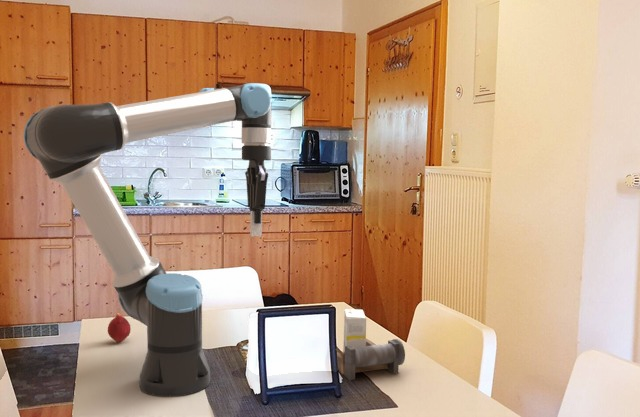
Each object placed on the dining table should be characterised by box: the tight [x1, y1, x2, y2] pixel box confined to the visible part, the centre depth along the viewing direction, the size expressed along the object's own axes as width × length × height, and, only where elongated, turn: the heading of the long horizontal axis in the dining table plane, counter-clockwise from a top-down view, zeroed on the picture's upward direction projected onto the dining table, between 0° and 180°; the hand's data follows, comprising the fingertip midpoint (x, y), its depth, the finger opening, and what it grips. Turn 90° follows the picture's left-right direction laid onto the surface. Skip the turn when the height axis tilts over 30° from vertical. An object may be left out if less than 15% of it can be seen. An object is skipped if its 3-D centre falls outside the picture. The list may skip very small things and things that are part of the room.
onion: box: [107, 312, 131, 344], centre depth 162 cm, size 6×6×8 cm
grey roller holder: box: [336, 338, 406, 381], centre depth 148 cm, size 13×22×8 cm, turn 23°
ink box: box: [342, 308, 367, 352], centre depth 150 cm, size 9×5×12 cm, turn 2°
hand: (256, 235), depth 159 cm, fingers closed
